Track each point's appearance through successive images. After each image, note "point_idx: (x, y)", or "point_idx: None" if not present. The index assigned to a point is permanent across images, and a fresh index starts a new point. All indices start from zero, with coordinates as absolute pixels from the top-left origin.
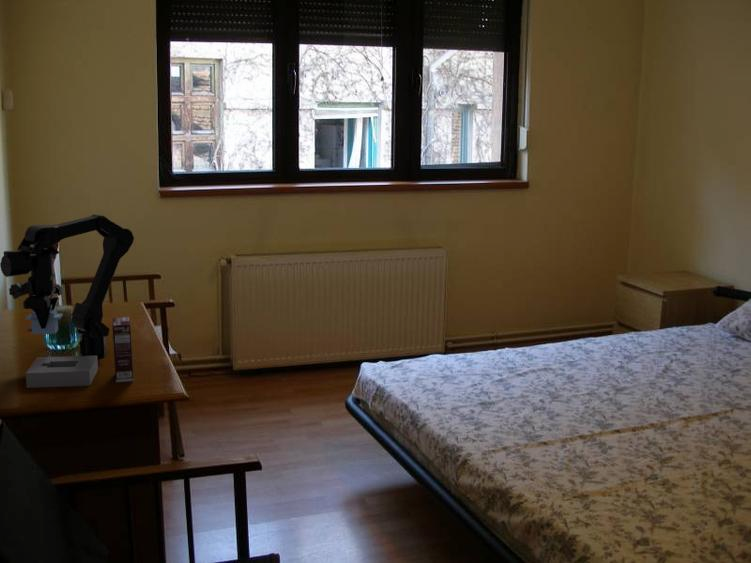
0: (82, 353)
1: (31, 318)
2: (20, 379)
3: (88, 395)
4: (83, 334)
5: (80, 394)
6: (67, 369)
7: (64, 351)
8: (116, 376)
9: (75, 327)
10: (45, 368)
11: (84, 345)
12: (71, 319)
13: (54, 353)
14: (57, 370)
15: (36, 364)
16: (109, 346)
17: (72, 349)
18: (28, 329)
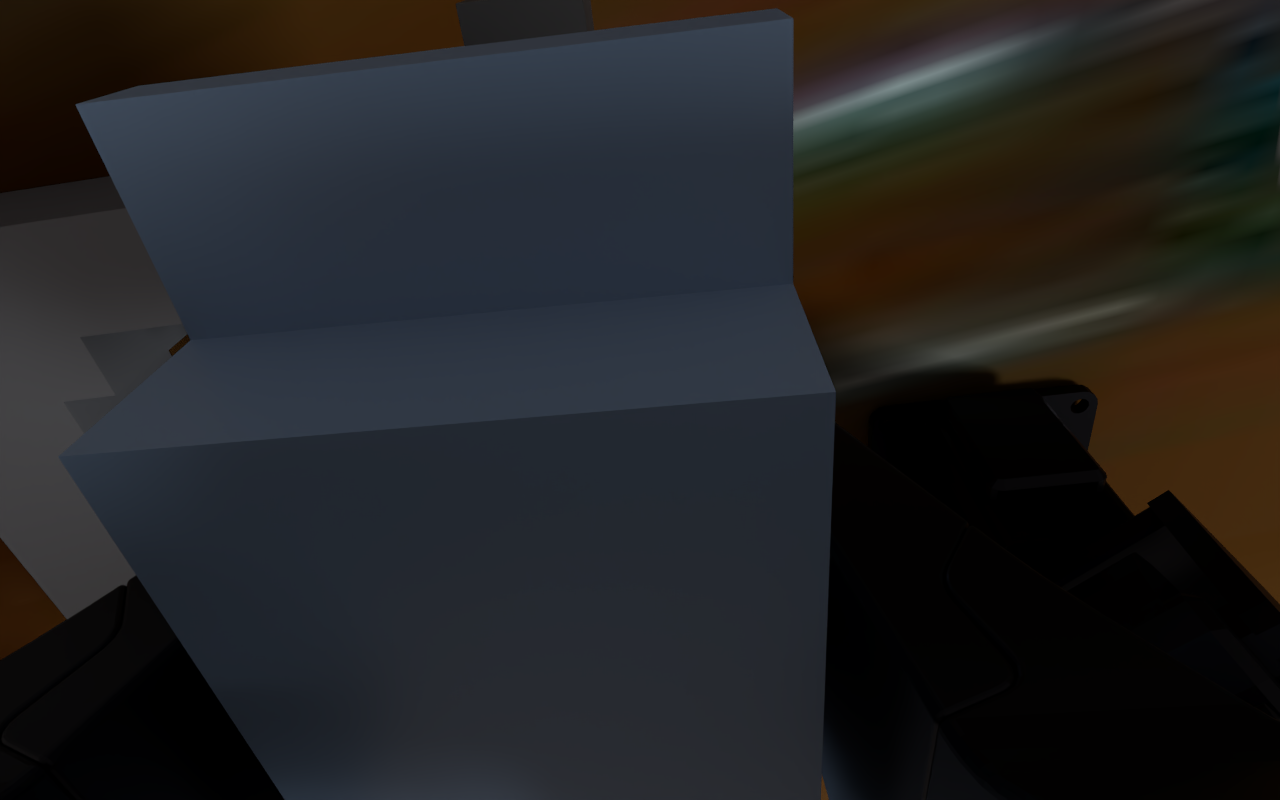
0: (934, 423)
1: (213, 326)
2: (123, 26)
3: (26, 644)
4: (1062, 562)
5: (18, 605)
6: (100, 579)
7: (1202, 165)
8: None
9: (1097, 579)
10: (32, 404)
11: (957, 496)
12: (1216, 637)
13: (1149, 68)
14: (35, 517)
15: (113, 266)
16: (1231, 521)
17: (1258, 230)
18: (466, 31)
